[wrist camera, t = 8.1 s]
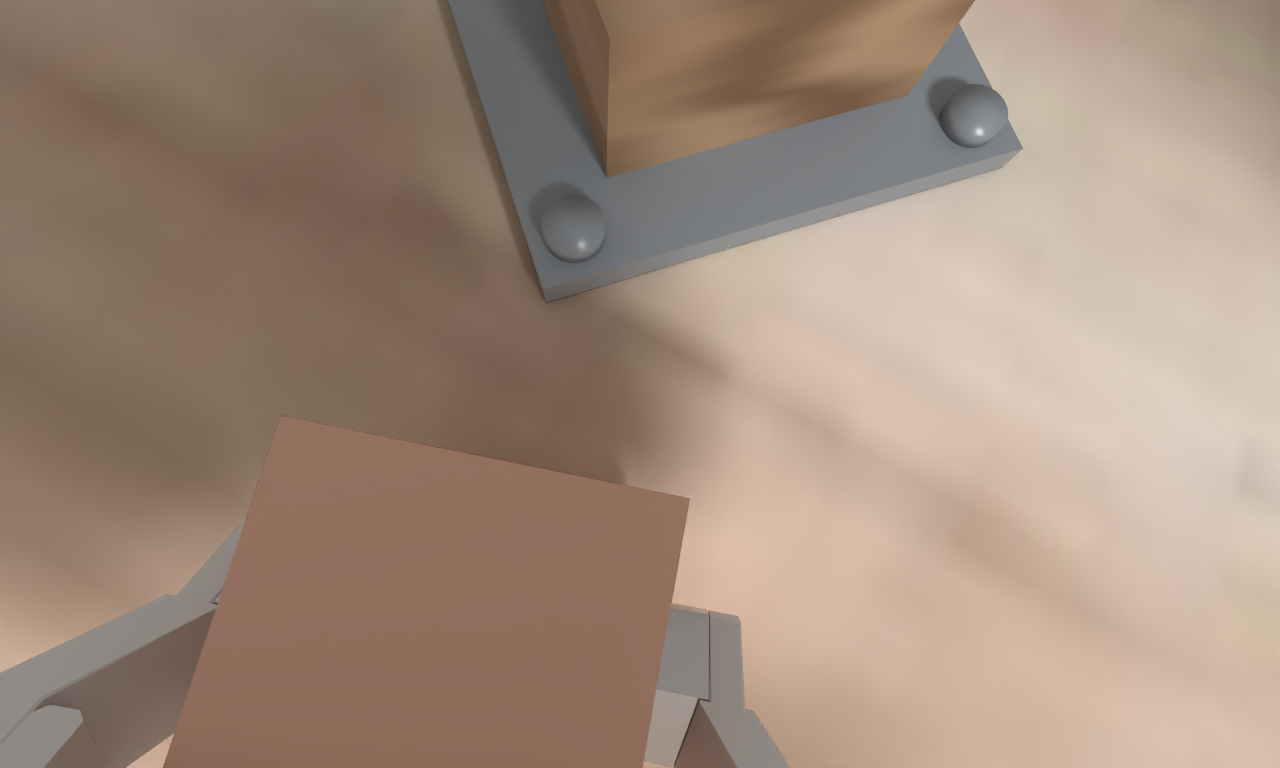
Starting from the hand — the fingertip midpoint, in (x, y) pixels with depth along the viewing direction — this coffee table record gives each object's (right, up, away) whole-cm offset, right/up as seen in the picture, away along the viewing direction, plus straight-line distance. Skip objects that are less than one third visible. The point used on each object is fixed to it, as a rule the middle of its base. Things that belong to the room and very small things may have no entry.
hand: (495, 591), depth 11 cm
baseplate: (+4, +14, +9) cm, 17 cm away
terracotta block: (0, -2, +4) cm, 4 cm away
